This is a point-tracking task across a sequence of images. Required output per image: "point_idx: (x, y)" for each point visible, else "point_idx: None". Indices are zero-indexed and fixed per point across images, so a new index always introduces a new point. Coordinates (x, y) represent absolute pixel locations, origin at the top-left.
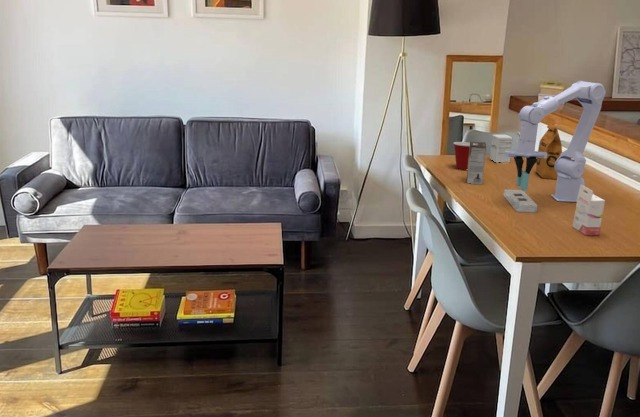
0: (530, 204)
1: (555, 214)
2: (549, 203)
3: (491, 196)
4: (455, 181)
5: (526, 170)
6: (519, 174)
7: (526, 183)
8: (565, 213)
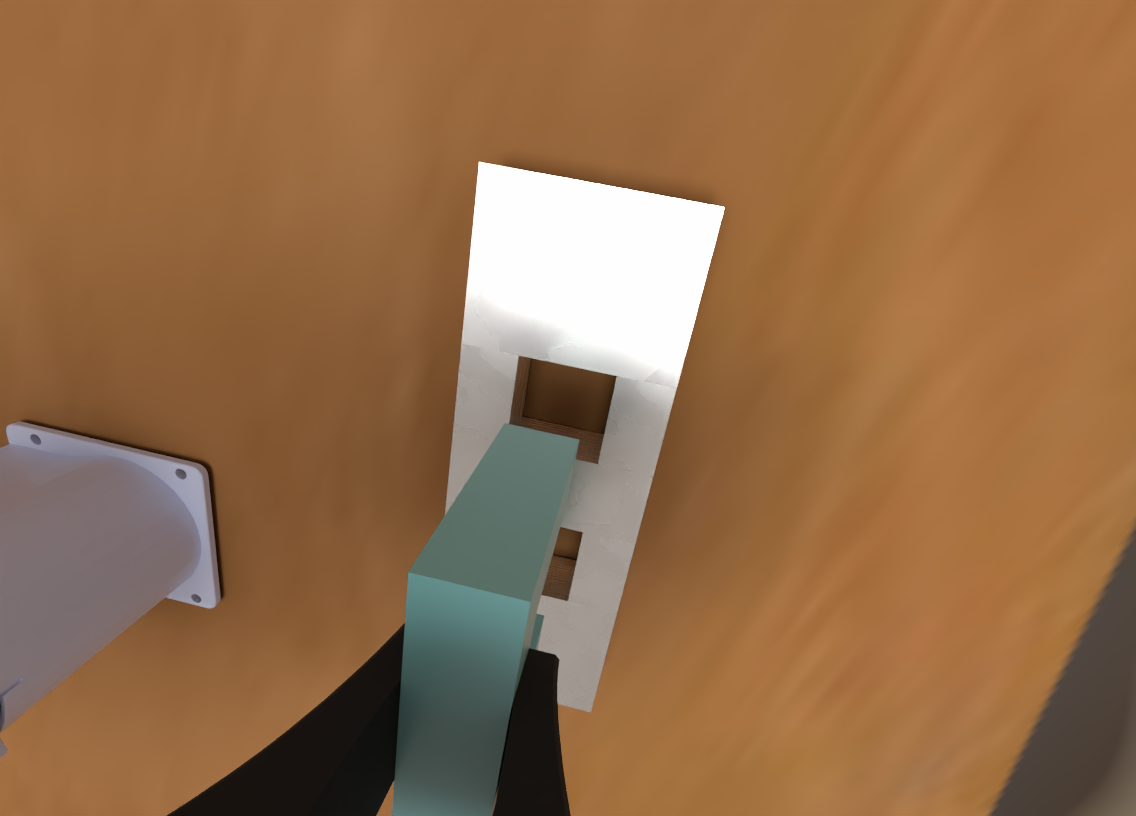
0: (547, 222)
1: (329, 84)
2: (286, 431)
3: (713, 665)
4: None
5: (380, 770)
6: (554, 692)
7: (498, 479)
8: (219, 116)
